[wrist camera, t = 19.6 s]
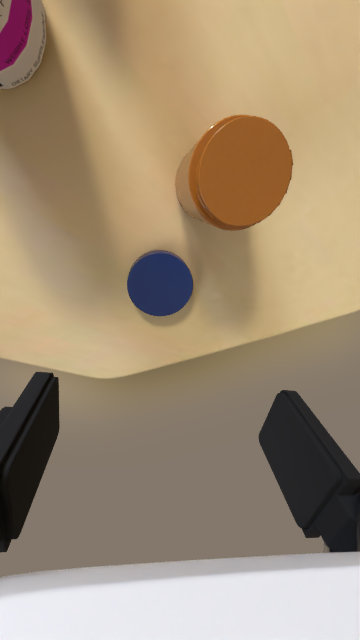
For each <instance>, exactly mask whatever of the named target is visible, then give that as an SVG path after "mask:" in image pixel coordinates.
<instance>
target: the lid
mask: <svg viewBox="0 0 360 640" xmlns="http://www.w3.org/2000/svg"><path fill="white" fill-rule="evenodd" d="M127 289H128V293H129V296H130V298H131V300H132V302H133V303H134V304H135V306H136V307H137V308H139V309H140V310H141V311H143V312H145V313H147V314H150V315H154V316H167V315H170V314H173V313H175V312H177V311H179V310H180V309H181V308H183V307H184V306H185V305H186V303H187V302H188V300H189V299H190V296H191V294H192V290H193V279H192V275H191V273H190V270H189V269H188V267H187V265H186V264H185V262H184V261H183V260H182V259H181V258H180V257H178V256H177V255H175V254H174V253H171V252H168V251H163V250H156V251H151V252H148V253H146V254H144V255H142V256H140V257H139V258H138V259H137V260H136V261H135V262H134V264H133V265H132V267H131V269H130V272H129V276H128V281H127Z"/></svg>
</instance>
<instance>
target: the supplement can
mask: <svg viewBox="0 0 360 640" xmlns="http://www.w3.org/2000/svg"><path fill="white" fill-rule="evenodd" d="M45 44H46V24H45V11H44V7H43V4H42V1H41V0H0V89H12V88H14V87H16V86H18V85H20V84H22V83H24V82H26V81H28V80H29V79H30V78H31V76H32V75H33V74H34V72H35V71H36V69H37V68H38V67H39V65H40V64H41V61H42V56H43V52H44V48H45Z"/></svg>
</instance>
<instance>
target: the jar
mask: <svg viewBox="0 0 360 640" xmlns="http://www.w3.org/2000/svg"><path fill="white" fill-rule="evenodd" d="M292 165H293V160H292V153H291V150H290V149H289V146H288V143H287V141H286V139H285V137H284V135H283V134H282V132H281V131H280V130H279V129H278V128H277V127H276V126H275V125H274V124H273V123H271V122H270V121H268V120H266V119H263V118H261V117H256V116H249V115H234V116H230V117H227V118H224V119H222V120H220V121H218V122H217V123H216V124H214V125H213V126H212V127H210V128H209V129H208V130H207V131H206V132H205V134H204V135H203V136H202V137H201V138H200V139H199V141H198V142H197V143H196V144H195V145H194V146H193V148H192V149H191V150H190V151H189V152H188V153H187V155H186V156H185V157H184V158H183V160H182V161H181V163H180V165H179V168H178V170H177V174H176V181H175V188H176V194H177V198H178V200H179V203H180V204H181V206H182V208H183V209H184V210H185V211H186V212H187V213H188V214H189V215H190V216H192V217H193V218H195V219H198V220H200V221H202V222H205V223H207V224H210V225H212V226H215V227H217V228H220V229H224V230H242V229H245V228H248V227H250V226H253V225H255V224H256V223H259V222H261V221H262V220H263V219H265V218H266V217H267V216H270V214H271V213H272V212H273V211H274V210H275V209H276V208H277V206H279V204H280V203H281V201H282V199H283V197H284V195H285V194H286V193H287V189H288V186H289V182H290V180H291V175H292Z"/></svg>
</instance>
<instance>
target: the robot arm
mask: <svg viewBox="0 0 360 640" xmlns="http://www.w3.org/2000/svg"><path fill="white" fill-rule="evenodd" d="M58 384H59V383H58V377H54V375H53V373H46V372H36V373H35V374H34V376H33V377H32V379H31V380H30V382H29V383H28V385H27V386H26V388H25V389H24V391H23V392H22V394H21V395H20V397H19V398H18V400H17V402H16V403H15V404H14V406H13V407H4V408H2V410H1V411H0V552H6V551H7V550H8V547H9V545H10V542H11V539H17V538H18V537H19V535H20V533H21V530H22V527H23V525H24V522H25V520H26V517H27V515H28V512H29V509H30V507H31V504H32V501H33V499H34V496H35V494H36V491H37V488H38V486H39V483H40V480H41V478H42V475H43V473H44V470H45V467H46V465H47V462H48V460H49V457H50V454H51V452H52V449H53V447H54V444H55V442H56V439H57V436H58V432H59V385H58ZM259 442H260V445H261V447H262V449H263V451H264V454H265V456H266V458H267V460H268V462H269V464H270V467H271V469H272V471H273V473H274V475H275V478H276V480H277V482H278V484H279V486H280V489H281V491H282V493H283V495H284V497H285V499H286V502H287V504H288V506H289V508H290V510H291V512H292V515H293V517H294V519H295V521H296V523H297V525H298V526H299V527H300V528H302V530H303V532H304V535H305V537H306V538H317V537H320V535H321V536H322V538H323V540H324V553H312V554H293V555H274V556H256V557H240V558H223V559H206V560H189V561H173V562H157V563H143V564H128V565H112V566H97V567H85V568H74V569H61V570H50V571H39V572H31V573H24V574H17V575H10V576H5V577H0V640H360V473H359V472H358V471H357V469H356V468H355V467H354V465H353V464H352V463H351V461H350V460H349V459H348V458H347V456H346V455H345V454H344V453H343V451H342V450H341V449H340V447H339V446H338V445H337V443H336V442H335V441H334V440H333V438H332V437H331V436H330V434H329V433H328V432H327V431H326V429H325V428H324V427H323V425H322V424H321V423H320V421H319V420H318V419H317V418H316V416H315V415H314V414H313V412H312V411H311V410H310V408H309V407H308V406H307V404H306V403H305V402H304V401H303V399H302V398H301V397H300V395H299V394H298V393H297V392H296V391H287V390H282V391H281V392H280V393H278V394H277V396H276V398H275V400H274V402H273V405H272V407H271V409H270V411H269V413H268V416H267V418H266V420H265V422H264V425H263V427H262V429H261V431H260V433H259Z"/></svg>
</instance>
